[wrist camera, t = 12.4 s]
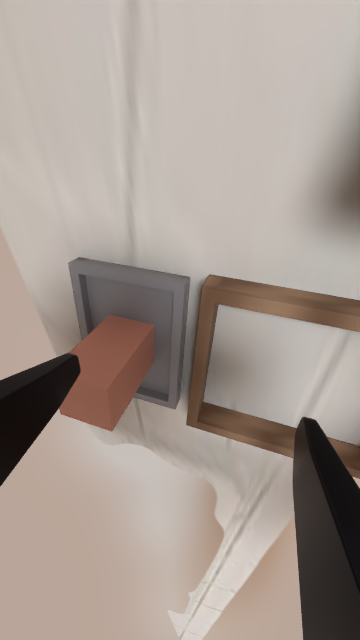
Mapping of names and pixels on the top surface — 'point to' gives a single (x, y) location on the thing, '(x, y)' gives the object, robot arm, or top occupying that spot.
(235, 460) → the top surface
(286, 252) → the top surface
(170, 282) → the charcoal tray
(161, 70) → the top surface
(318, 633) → the robot arm
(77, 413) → the brick block
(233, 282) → the frame
